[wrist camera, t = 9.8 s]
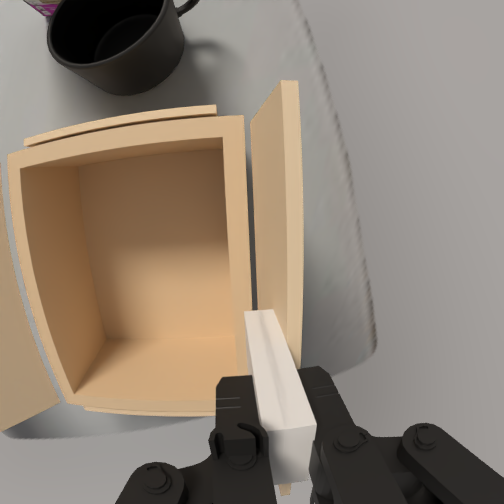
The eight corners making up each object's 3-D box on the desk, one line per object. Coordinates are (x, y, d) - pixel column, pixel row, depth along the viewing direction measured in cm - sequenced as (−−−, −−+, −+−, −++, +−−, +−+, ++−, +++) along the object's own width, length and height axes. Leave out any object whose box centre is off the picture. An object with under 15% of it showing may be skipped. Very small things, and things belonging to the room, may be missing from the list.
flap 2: (250, 122, 15) (259, 122, 15) (261, 407, 20) (268, 407, 20) (280, 80, 8) (297, 80, 8) (281, 496, 13) (289, 494, 13)
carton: (103, 351, 30) (70, 410, 20) (69, 148, 24) (7, 143, 14) (247, 348, 31) (257, 415, 21) (236, 127, 25) (243, 102, 16)
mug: (227, 49, 23) (229, 1, 14) (112, 115, 24) (67, 95, 15) (183, -14, 21) (172, -67, 12) (78, 47, 21) (34, 14, 13)
